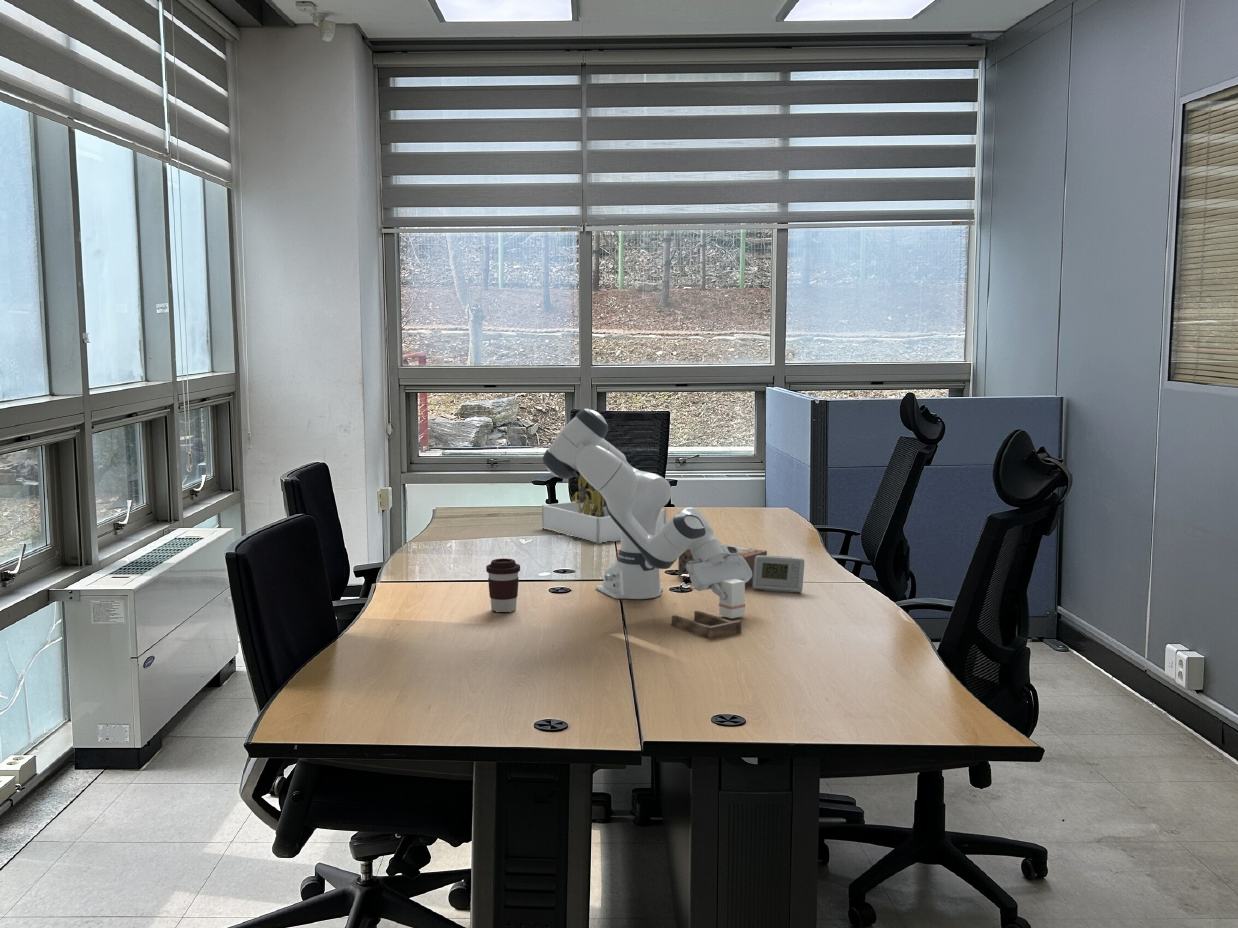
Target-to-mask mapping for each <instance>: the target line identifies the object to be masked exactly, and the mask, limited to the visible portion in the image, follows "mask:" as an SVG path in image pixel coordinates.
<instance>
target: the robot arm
mask: <svg viewBox="0 0 1238 928" xmlns="http://www.w3.org/2000/svg"><path fill="white" fill-rule="evenodd" d="M608 432H609V424H608V423H607V421H606V419H605V418H604V416H603V415H602V414H601V413H600V412H598V411H596V410H593V409H590V408H582V409H581V410H579V411H578V412H577V413H576V414H575V416H574V417H573V418H572V419H571V420H570V421H569V422H568V423H567V424H566V425H565V426H564V427H563V428H562V429H561V430H560V433H558V435H557V436H556V438H554V440H553V442H552V444H551V445H550V446H549V448H546V450H545V452H544V454H543V456H542V462H543V464H544V465H545V468H546V469H547V471H548V473H550V474H552V475H553V476H554V477H557V478H560V479H562V480H568V479H569V480H570V479H571V478H573V477H575V478H579V475H580V474H581V475H582V476H583V477H584V479H585V480H586V481H587V484H588V483H589V484H590V485H591V488H592V487H594V488H595V489H596V490H597V491H598V492H599V493H600V494H601V495H602V496H603V497H604V499H605V501H606V503H607V506H606V509H607V512H608V514H609V515H610V517H611V518H612V519H613V521H614V522H615V523H616V524H617V525H618V527H619V528H620V529H621V540H620V549H617V550H616V552H615V555H617V557H616V561H615V562H613V564H612V565H610V566H609V567H608V568H607V569H605V571H604V573H603V583H600V584H597V585H596V586H595V589H596V590H597V591H600V592H601V593H603V594H604V595H607V596H609V597H611V598H613V599H630V600H645V599H646V600H647V599H653V598H657V597H660V596H661V595H662V592H663V591H664V590H663V586H661V577H660V570H667V569H670V568H671V567H672V566H673V564H674V563H676V562H677V560H678V559H679V557H680V556H681V555H682V554H683V553H684V552H685V551H686V550H687V549H690V550H691V553H692V556H693V558H694V560H693V561H688V562H687V563H686V566H685V567H686V569H687V571H688V573H689V577H690V578H689V579H690V582H691V584H692V586H693V588H694V589H695V590H697V592H701V591H706V590H711V592H712V593H714V594H715V595H716V596H718V597H719V600H720V599H721V600H726V599H727V598H728V596H727V594H726V592H723V591H722V590H721V589H720V583H721V582H722V581H724V580H730V579H738V580H742V581H745V583H746V582H748V581H749V580H750V578H751V577H752V571H751V569H750V567H749V565H748V564H747V562H746V561H745V559H744V558H743V557H742V556H740V555H738V554H739V553H740V551H739V549H738V548H737V547H732V546H733V545H732V546H727V545H728V544H725V545H724V543H721V542H720V540H719V539H718V538H717V537H716V536H715V534H714V530H713V528H712V526H711V524H710V523H709V522H708V520H707V518H706V517H705V516H704V515H703V514H702V512H701V511H700V510H698V509H697V507H696V508H695V507H686V508H683V509H681V510H680V511H678V512H677V513H676V514H675V515H673V516H672V517H670V519H668V520H666V523H665V524H664V526H663V527H662V528H661V529H659V530H658V531H657V532H656V529H657V522H658V518H659V515H660V512H661V510H662V509H664V507H665V506H666V505H667V504H668V503H669V501H670V500H671V496H672V486H671V485H670V482H669V481H668V480H667V479H666V478H664V477H663V476H661V475H659V474H657V473H653V472H648V471H643V470H641V469H640V470H639V469H637V468H635V467H633V466H632V465H631V464H630V463H629V462H628V461H627V457H626V455H625V454H624V453H623V452H622V451H620V450H619V449H618V448H616V447H615V446H614V445H613V444H611V443H610V442H609V441H608V440H606V439H605V437H606V436H607V434H608ZM577 471H578V473H579V475H578V474H577Z"/></svg>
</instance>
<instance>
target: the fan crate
mask: <svg viewBox="0 0 1238 928" xmlns="http://www.w3.org/2000/svg"><path fill="white" fill-rule="evenodd" d="M590 501H592V500H590ZM583 504H584V503H580V507H581V508H582V507H583ZM585 505H586V504H585ZM541 507H542V508H541V509H542V517H541V518H542V520H541V521H542V522H541V523H542V526H543V527H546V528H550V529H554V530H556V531H559V532H563V533H566V534H569V535H573V536H575V537H579V538H583V539H586V540H590V541H594V542H596V543H595V544H603V543H602V542H606V543H608V542H607V541H613V542H619V541H620V542H621V529H620V528H619V527H618V525H617V524H616V523H615V522H614V521H613V519H612V518H611V517H610V515H609V514H608V512H607V509H606V507H604V508H603V511H604V515H605V517H599V518H598V517H594V516H591V513H590V516H589V515H585V514H584V510H583V512H581V513H582V514H581V513H579V503H576V501H569V502H568V501H567V502H558V503H551V504H542V506H541ZM593 507H594V504H593ZM593 507H592V509H593ZM590 508H591V504H590ZM590 512H591V511H590ZM666 522H667V510H666V509H665V508H662V510H661V512H660V515H659V518H658V522H657V529H656V532H657V531H658V530H659V529H661V528H662V527H663V526H664V524H665V523H666ZM575 537H574V538H575ZM579 538H578V539H579ZM583 539H582V540H583ZM586 540H585V541H586ZM590 541H589V542H590ZM594 542H593V543H594Z"/></svg>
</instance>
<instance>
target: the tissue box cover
mask: <svg viewBox="0 0 1238 928" xmlns="http://www.w3.org/2000/svg"><path fill="white" fill-rule="evenodd" d="M723 544H724V543H723ZM724 545H727V546H732V547H737V548H738V549H739V551H740V553H739V554H738V555H740V556H742V557H743V558H744V559H745V561H746V562H747V564H748V565H749V567H750V569H751V571H752V577H751V578H750V580H749V581H748V582H746V583H745V587H747V586H750V585H753V574H754V563H755V557H756V556H757V555H761V556H768V551H767V550H764V549H757V548H752V547H751V548H749V547H743V546H738V545H730V544H724ZM693 560H694V558H693V556H692V553H691V550H690V549H687V550H686V551H685V552H684V553H683V554H682V555H681V556H680V557H678V562H677V563H678V568H677V569H678V575H682V574H689V573H688V571H687V569H686V567H685V566H686V563H687V562H688V561H693Z"/></svg>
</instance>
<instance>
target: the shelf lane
mask: <svg viewBox="0 0 1238 928" xmlns="http://www.w3.org/2000/svg"><path fill="white" fill-rule="evenodd" d="M693 618H694V619H693V620H691V619H688V618H686V617H682V616H679V615H675V614H674V615H671V624H669V626H670V627H674V628H676V629H678V630H679V629H680V630H682V631H686V632H688V633H691V634H694V635H697V636H699V637H703V638H706V639H707V640H708V639H709V640H712V639H717V638H722V637H726V636H731V635H736V634H740V633H742V620H733V621H732V620H730V619H729V620H728V619H726V618H722V617H720V616H716V615H712V614H709V613H707V612H703V611H700V610H695V611H694V616H693Z"/></svg>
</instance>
